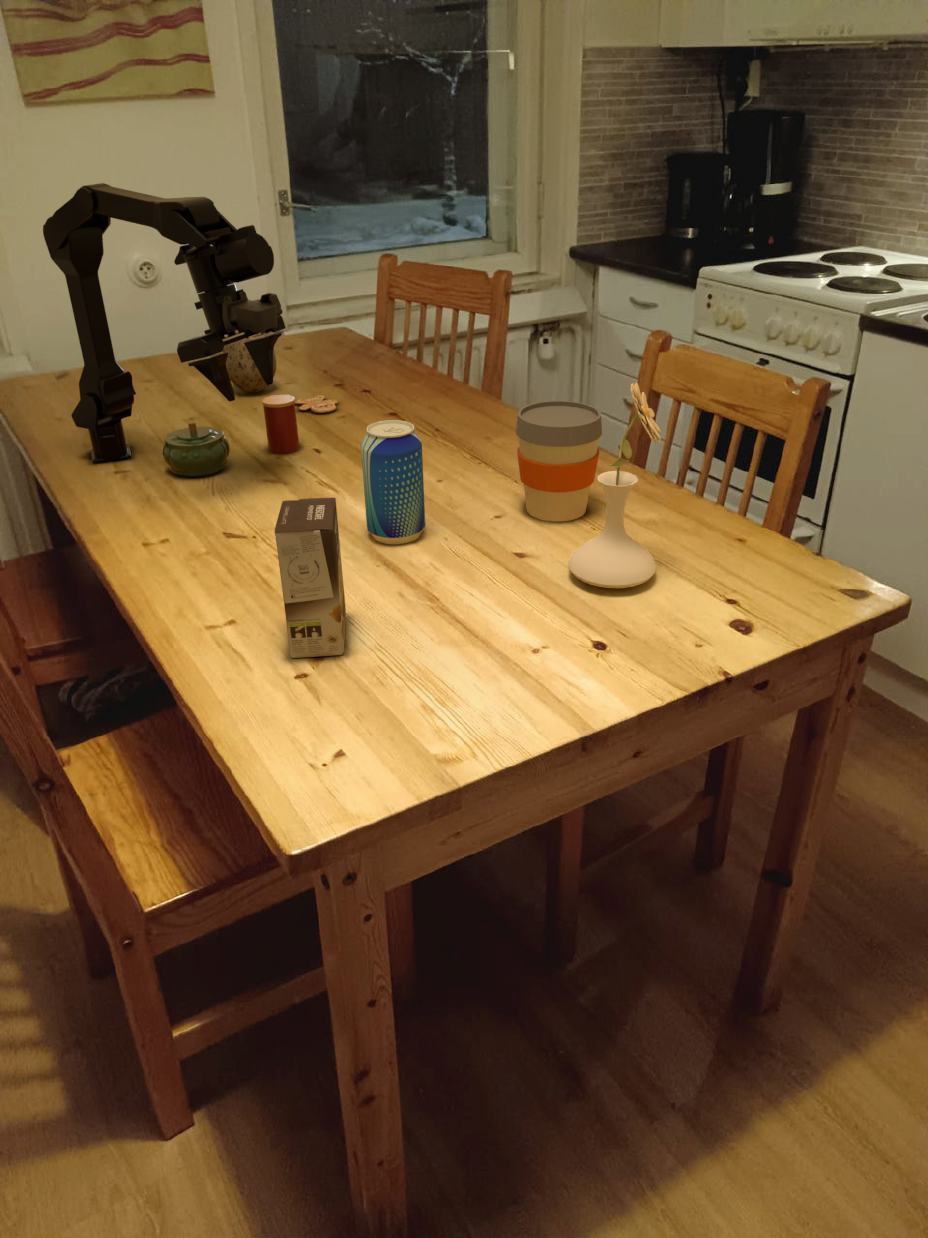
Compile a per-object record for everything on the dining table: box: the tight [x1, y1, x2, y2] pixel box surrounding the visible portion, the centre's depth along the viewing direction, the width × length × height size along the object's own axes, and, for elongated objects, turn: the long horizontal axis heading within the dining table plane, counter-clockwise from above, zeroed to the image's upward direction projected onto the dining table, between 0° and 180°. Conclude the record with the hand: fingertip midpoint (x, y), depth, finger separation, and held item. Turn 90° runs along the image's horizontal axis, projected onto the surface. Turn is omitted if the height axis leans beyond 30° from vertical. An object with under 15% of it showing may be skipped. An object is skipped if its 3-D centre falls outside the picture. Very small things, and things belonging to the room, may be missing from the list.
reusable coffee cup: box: [515, 400, 603, 523], centre depth 142 cm, size 13×12×15 cm
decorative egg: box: [222, 330, 277, 393], centre depth 197 cm, size 11×11×15 cm
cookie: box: [295, 395, 338, 414], centre depth 191 cm, size 8×1×10 cm
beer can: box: [360, 419, 426, 545], centre depth 135 cm, size 8×8×16 cm
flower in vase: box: [567, 381, 662, 589], centre depth 121 cm, size 13×11×25 cm
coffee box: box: [274, 497, 347, 659], centre depth 110 cm, size 9×6×16 cm
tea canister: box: [261, 394, 300, 455], centre depth 168 cm, size 6×6×9 cm
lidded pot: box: [162, 421, 231, 478], centre depth 161 cm, size 11×11×8 cm
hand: (251, 392), depth 148 cm, fingers open, 9 cm apart
